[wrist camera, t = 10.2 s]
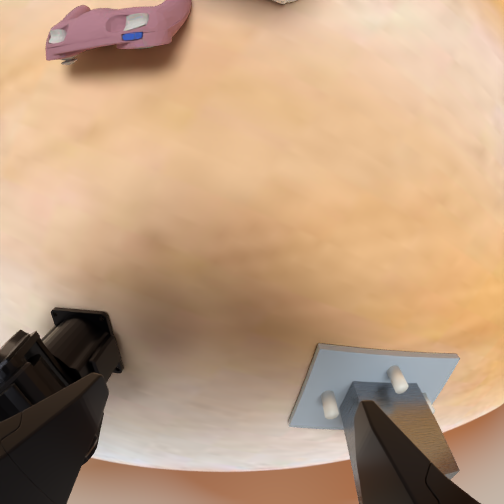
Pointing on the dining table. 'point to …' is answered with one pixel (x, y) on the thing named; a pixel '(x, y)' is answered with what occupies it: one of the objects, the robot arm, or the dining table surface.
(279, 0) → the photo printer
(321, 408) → the grey peg board
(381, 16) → the dining table surface
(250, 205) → the dining table surface
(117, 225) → the dining table surface
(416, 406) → the block
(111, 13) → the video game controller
